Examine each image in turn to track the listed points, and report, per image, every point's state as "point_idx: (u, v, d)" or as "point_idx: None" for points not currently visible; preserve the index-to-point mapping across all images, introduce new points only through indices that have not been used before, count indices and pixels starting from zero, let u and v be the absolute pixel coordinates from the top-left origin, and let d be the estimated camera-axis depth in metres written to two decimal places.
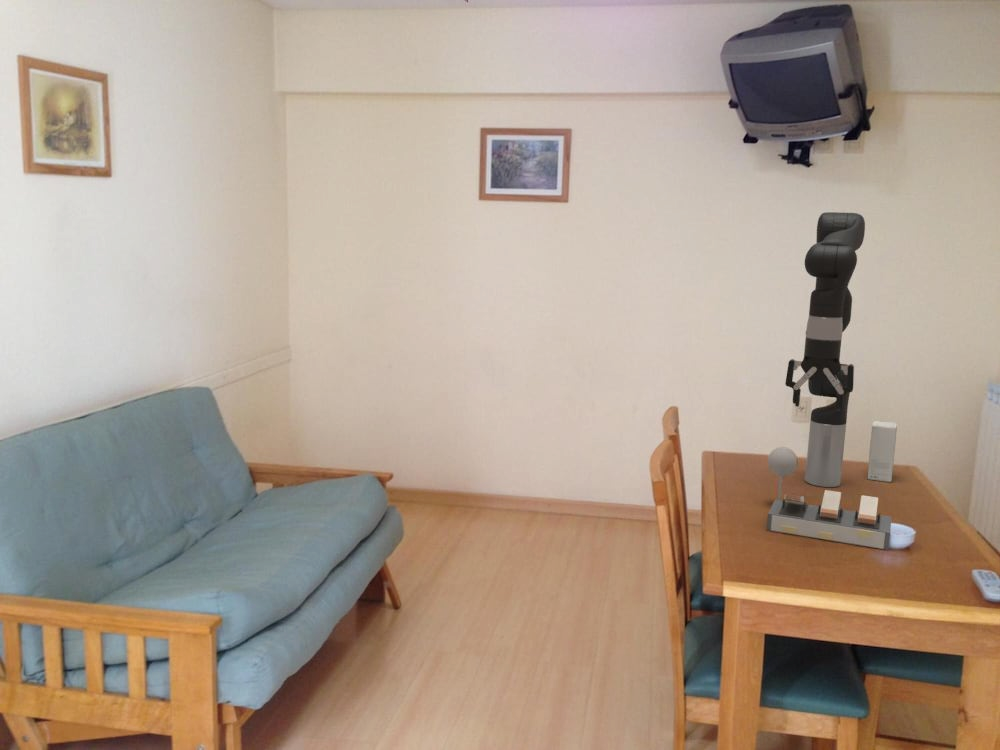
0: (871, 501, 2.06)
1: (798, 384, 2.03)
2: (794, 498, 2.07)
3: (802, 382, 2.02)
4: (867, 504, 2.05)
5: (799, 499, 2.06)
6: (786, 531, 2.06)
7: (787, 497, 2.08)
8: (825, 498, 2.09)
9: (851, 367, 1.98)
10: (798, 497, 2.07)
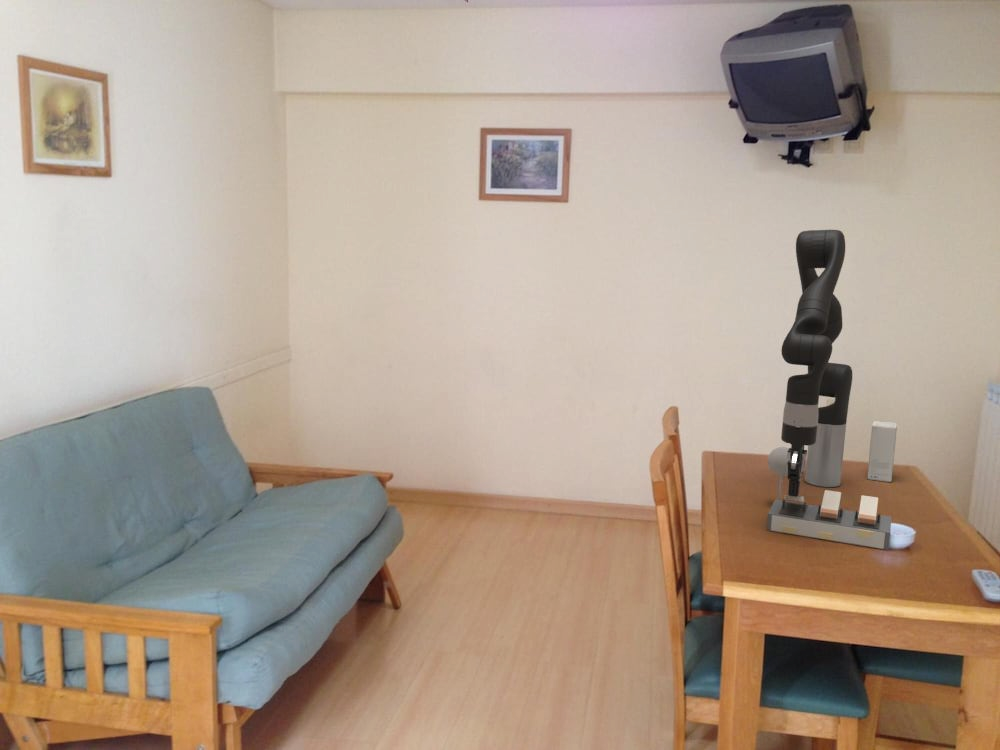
0: (871, 501, 2.06)
1: (800, 475, 2.06)
2: (794, 498, 2.07)
3: None
4: (867, 504, 2.05)
5: (799, 499, 2.06)
6: (786, 531, 2.06)
7: (787, 497, 2.08)
8: (825, 498, 2.09)
9: None
10: (798, 497, 2.07)
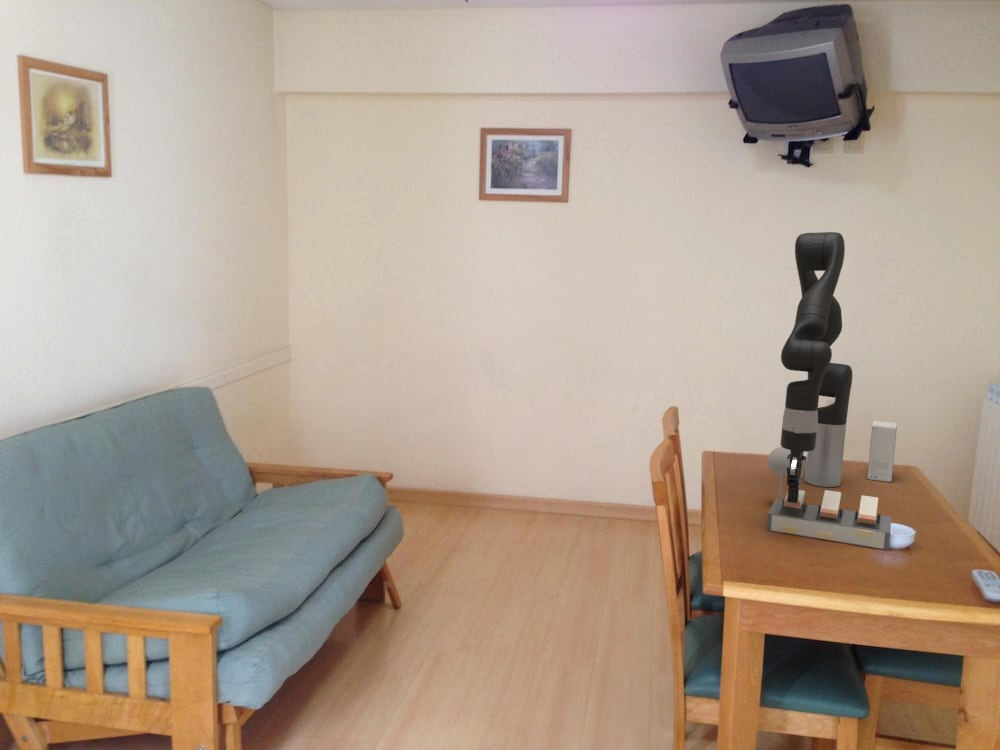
0: (871, 501, 2.06)
1: (799, 481, 2.06)
2: (793, 505, 2.07)
3: None
4: (867, 504, 2.05)
5: (798, 506, 2.06)
6: (786, 531, 2.06)
7: (786, 504, 2.07)
8: (825, 498, 2.09)
9: None
10: (797, 504, 2.06)
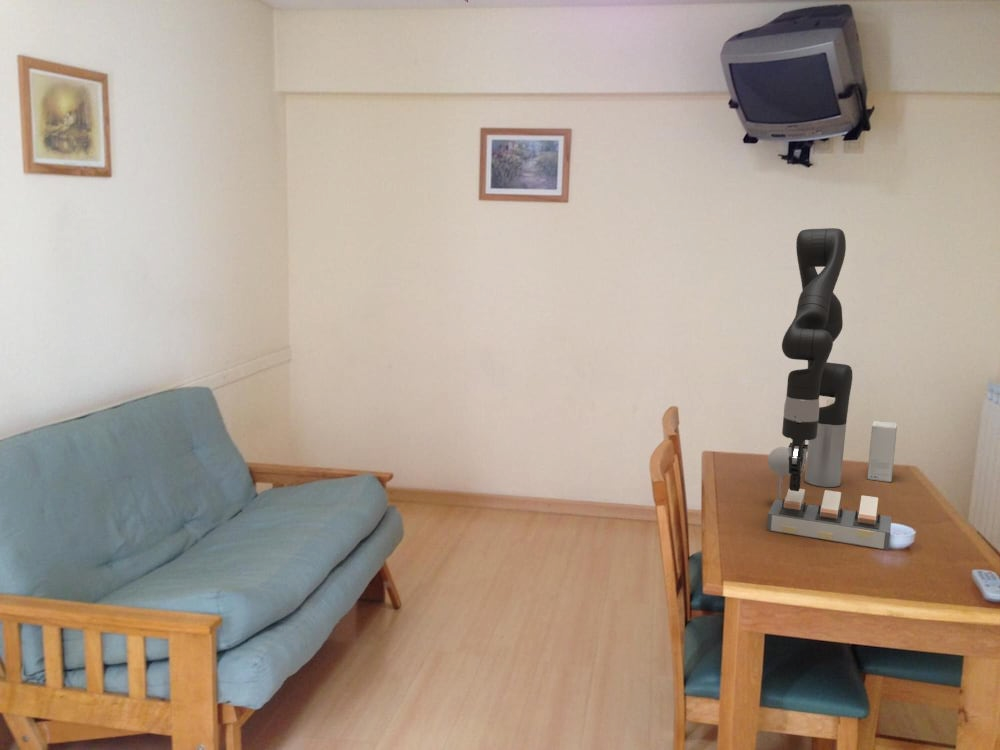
0: (871, 501, 2.06)
1: (801, 469, 2.06)
2: (793, 507, 2.07)
3: None
4: (867, 504, 2.05)
5: (798, 508, 2.07)
6: (786, 531, 2.06)
7: (786, 506, 2.08)
8: (825, 498, 2.09)
9: None
10: (797, 506, 2.06)
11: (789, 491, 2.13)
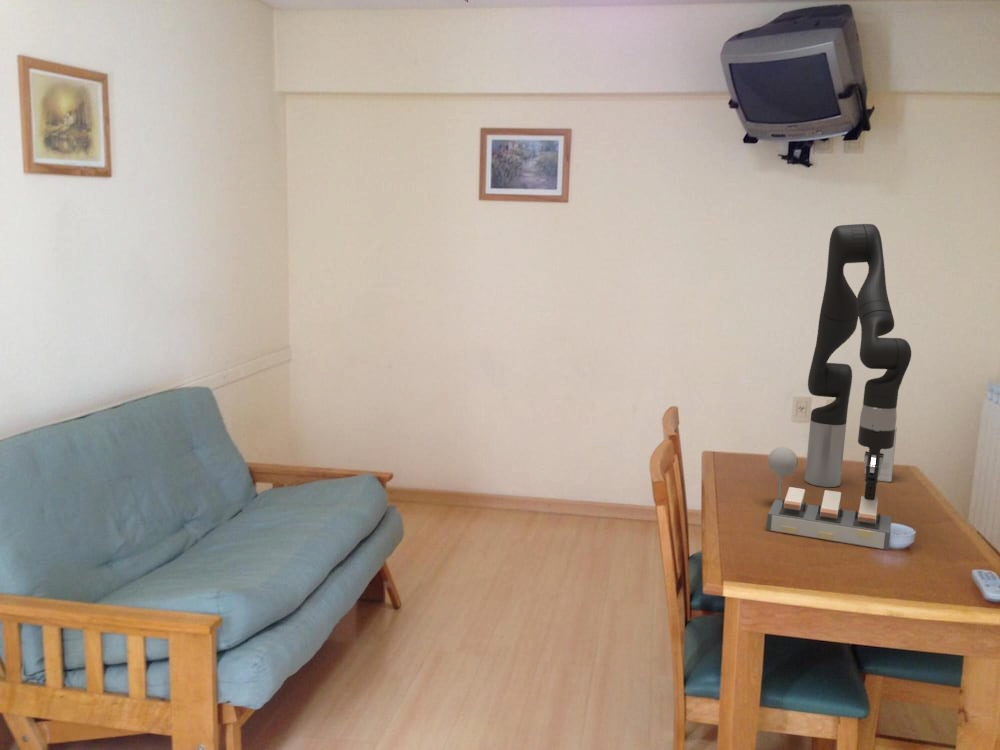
0: (871, 502, 2.06)
1: (877, 478, 2.06)
2: (793, 507, 2.07)
3: None
4: (867, 504, 2.05)
5: (798, 508, 2.07)
6: (786, 531, 2.06)
7: (786, 506, 2.08)
8: (825, 498, 2.09)
9: None
10: (797, 506, 2.07)
11: (789, 491, 2.13)
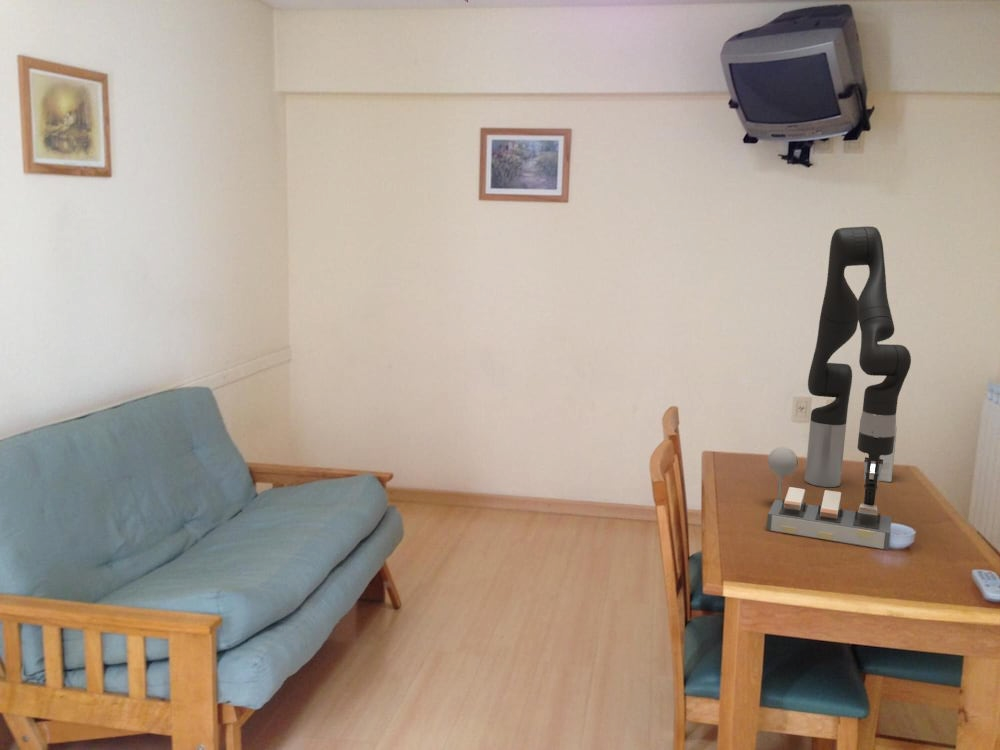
0: (871, 505, 2.07)
1: None
2: (793, 507, 2.07)
3: None
4: (867, 505, 2.06)
5: (798, 508, 2.07)
6: (786, 531, 2.06)
7: (786, 506, 2.08)
8: (825, 498, 2.09)
9: None
10: (797, 506, 2.07)
11: (789, 491, 2.13)
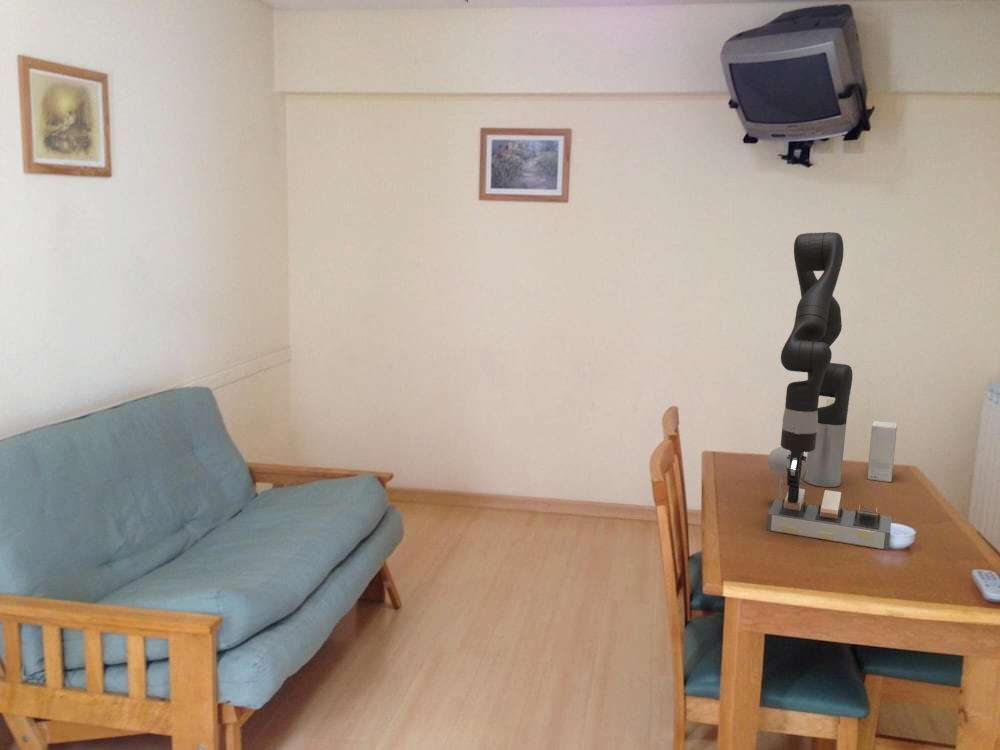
0: None
1: (799, 481, 2.06)
2: (793, 507, 2.07)
3: None
4: None
5: (798, 508, 2.07)
6: (786, 531, 2.06)
7: (786, 506, 2.08)
8: (825, 498, 2.09)
9: None
10: (797, 506, 2.07)
11: None
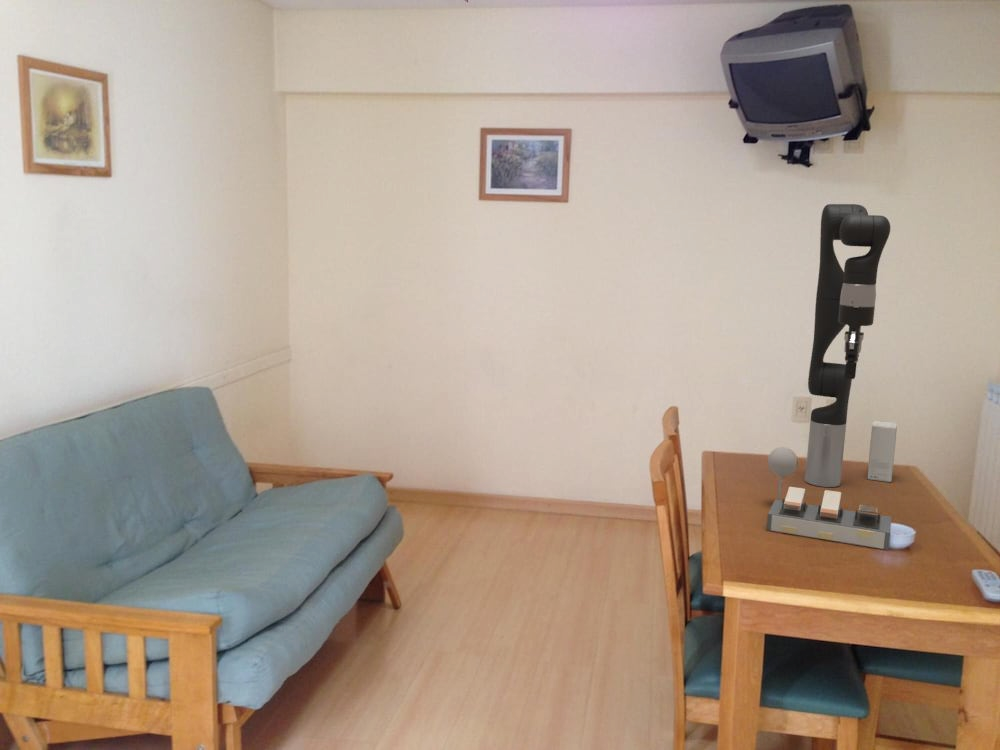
0: None
1: (857, 357, 2.08)
2: (793, 508, 2.07)
3: (858, 352, 2.07)
4: None
5: (798, 509, 2.07)
6: (786, 531, 2.06)
7: (786, 507, 2.08)
8: (825, 498, 2.09)
9: None
10: (797, 507, 2.07)
11: (789, 491, 2.13)
